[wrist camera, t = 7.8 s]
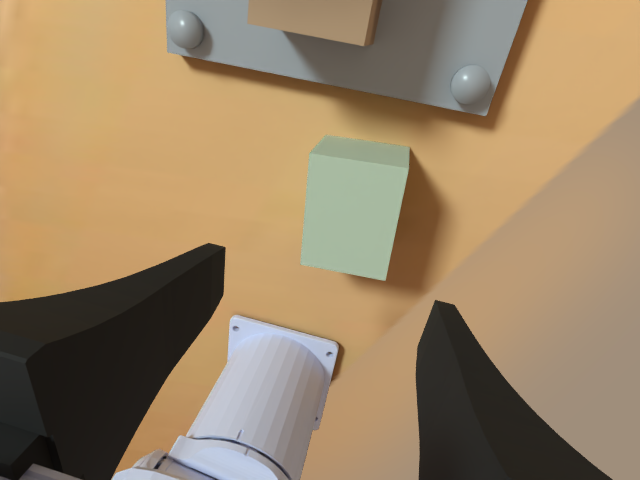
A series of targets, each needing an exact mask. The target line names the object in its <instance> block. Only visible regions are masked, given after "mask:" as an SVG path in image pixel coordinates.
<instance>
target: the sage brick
mask: <svg viewBox="0 0 640 480" xmlns="http://www.w3.org/2000/svg"><path fill="white" fill-rule="evenodd" d="M409 150H410V147H407V146H400V145H393V144H386V143H380V142H373V141H366V140H359V139H352V138H345V137H338V136H331V135H325V136H324V137H323V138H322V140H321V141H320V142H319V143H318V144H317V145H316V146H315V148H314V149H313V150H312V151H311V152H310V153H309V165H308V177H307V189H306V202H305V214H304V226H303V239H302V251H301V263H300V265H306V266H311V267H316V268H321V269H326V270H331V271H336V272H342V273H347V274H352V275H357V276H362V277H367V278H373V279H378V280H383V281H385V280H386V275H387V271H388V266H389V261H390V256H391V252H392V247H393V242H394V237H395V232H396V228H397V223H398V218H399V213H400V209H401V204H402V199H403V194H404V190H405V185H406V180H407V175H408V170H409Z"/></svg>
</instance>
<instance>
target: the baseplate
mask: <svg viewBox="0 0 640 480" xmlns="http://www.w3.org/2000/svg"><path fill="white" fill-rule="evenodd" d="M527 1H528V0H382V5H381V10H380V14H379V19H378V24H377V29H376V34H375V39H374V44H372V45H367V46H360V45H355V44H350V43H345V42H340V41H334V40H329V39H324V38H319V37H314V36H308V35H303V34H298V33H293V32H288V31H282V30H277V29H272V28H267V27H262V26H256V25H251V24H247V19H248V3H249V0H166V25H167V52H168V53H173V54H178V55H183V56H188V57H193V58H198V59H203V60H208V61H213V62H218V63H223V64H228V65H233V66H238V67H243V68H248V69H253V70H258V71H263V72H268V73H273V74H278V75H283V76H288V77H293V78H298V79H303V80H308V81H313V82H318V83H323V84H328V85H333V86H338V87H343V88H348V89H353V90H358V91H363V92H368V93H373V94H378V95H383V96H388V97H393V98H398V99H403V100H408V101H413V102H418V103H423V104H428V105H433V106H438V107H443V108H448V109H453V110H458V111H463V112H467V113H472V114H477V115H482V116H486V115H487V112H488V110H489V107H490V104H491V101H492V98H493V96H494V93H495V90H496V87H497V84H498V82H499V79H500V76H501V73H502V70H503V68H504V65H505V62H506V59H507V57H508V54H509V51H510V48H511V45H512V43H513V40H514V37H515V34H516V31H517V29H518V26H519V23H520V20H521V18H522V15H523V12H524V9H525V6H526V4H527Z"/></svg>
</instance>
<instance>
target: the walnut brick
mask: <svg viewBox="0 0 640 480" xmlns="http://www.w3.org/2000/svg"><path fill="white" fill-rule="evenodd" d="M381 5H382V0H249V3H248V19H247V24H251V25H256V26H262V27H267V28H272V29H277V30H282V31H288V32H293V33H298V34H303V35H308V36H314V37H319V38H324V39H329V40H334V41H340V42H345V43H350V44H355V45H360V46H367V45H372V44H374V39H375V34H376V29H377V24H378V19H379V14H380V10H381Z"/></svg>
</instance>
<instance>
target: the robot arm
mask: <svg viewBox="0 0 640 480" xmlns="http://www.w3.org/2000/svg"><path fill="white" fill-rule="evenodd" d="M224 269H225V247H223V246H219V245H215V244H211V243H208V244H205V245H202V246H200V247H198V248H195V249H193V250H191V251H188V252H186V253H184V254H182V255H179V256H177V257H175V258H173V259H170V260H168V261H166V262H163V263H161V264H159V265H156V266H153V267H151V268H148V269H146V270H143V271H140V272H138V273H135V274H133V275H130V276H127V277H124V278H121V279H118V280H115V281H111V282H108V283H104V284H101V285H97V286H93V287H89V288H85V289H80V290H76V291H71V292H67V293H62V294H57V295H52V296H46V297H40V298H33V299H26V300H19V301H10V302H0V480H111V478H112V476H113V474H114V472H115V470H116V468H117V466H118V464H119V462H120V460H121V458H122V457H123V455H124V453H125V451H126V449H127V447H128V445H129V443H130V442H131V440H132V438H133V436H134V434H135V432H136V430H137V429H138V427H139V425H140V423H141V421H142V420H143V418H144V416H145V414H146V413H147V411H148V409H149V407H150V405H151V404H152V402H153V400H154V399H155V397H156V395H157V394H158V392H159V390H160V389H161V387H162V385H163V384H164V382H165V380H166V379H167V377H168V376H169V374H170V373H171V371H172V370H173V368H174V367H175V366H176V364H177V363H178V362H179V360H180V359H181V358H182V356H183V355H184V354H185V352H186V351H187V350H188V348H189V347H190V346H191V344H192V343H193V342H194V340H195V339H196V338H197V336H198V335H199V333H200V332H201V331H202V329H203V328H204V327H205V325H206V324H207V323H208V321H209V320H210V318H211V317H212V315H213V313H214V311H215V310H216V308H217V306H218V304H219V302H220V300H221V298H222V297H223V292H224ZM235 326H237V327H238V328H237V327H235ZM338 349H339V345H338V344H337V343H336V342H334V341H331V340H328V339H324V338H320V337H317V336H313V335H309V334H306V333H302V332H298V331H295V330H291V329H287V328H284V327H280V326H276V325H273V324H269V323H265V322H262V321H258V320H254V319H251V318H247V317H243V316H239V315H234V316H233V317H232V318H231V320H230V329H229V345H228V362H227V364H226V366H225V368H224V370H223V371H222V373H221V375H220V377H219V378H218V380H217V382H216V384H215V386H214V387H213V389H212V391H211V393H210V394H209V396H208V398H207V400H206V401H205V403H204V405H203V407H202V408H201V410H200V412H199V414H198V415H197V417H196V419H195V421H194V422H193V424H192V426H191V428H190V430H189V431H188V433H187V435H186V437H185V436H182V435H180V436H179V437H178V439H177V440H176V442H175V444H174V445H173V447H172V449H171V451H170V452H169V454H168V453H167V452H165V451H163V450H161V449H157V450H154V451H153V452H152V453H150V454H148V455H146V456H144V457H142V458H140V459H139V460H138V461H137V462H136V463H135V464H134V465H133V467H132V468H130V469H127V470H124V471H121V472H118V473H116V474H115V476H114V477H113V479H112V480H300V478H301V474H302V470H303V466H304V462H305V458H306V454H307V450H308V446H309V442H310V438H311V434H312V430H317V429H319V425H320V422H321V418H322V414H323V409H324V406H325V402H326V397H327V394H328V390H329V386H330V382H331V378H332V374H333V370H334V366H335V362H336V358H337V354H338ZM328 352H331V353H333V354H330V353H328ZM416 389H417V406H418V422H419V438H420V461H419V480H612V479H611V478H610V477H609V476H607V475H606V474H605V473H603V472H602V471H600V470H599V469H598V468H597V467H595V466H594V465H593V464H592V463H591V462H589V461H588V460H587V459H586V458H585V457H583V456H582V455H581V454H580V453H579V452H577V451H576V450H575V449H574V448H573V447H572V446H570V445H569V444H568V443H567V442H566V441H565V440H564V439H563V438H561V437H560V436H559V435H558V434H557V433H556V432H555V431H554V430H553V429H552V428H551V427H550V426H549V425H548V424H547V423H546V422H545V421H544V420H542V419H541V418H540V417H539V416H538V415H537V414H536V413H535V412H534V411H533V410H532V409H531V408H530V407H529V405H528V404H527V403H526V402H525V401H524V400H523V399H522V398H521V397H520V396H519V395H518V393H517V392H516V391H515V390H514V389H513V388H512V387H511V385H510V384H509V383H508V382H507V381H506V379H505V378H504V377H503V376H502V375H501V373H500V372H499V370H498V369H497V368H496V367H495V365H494V364H493V363H492V361H491V360H490V359H489V357H488V356H487V354H486V353H485V352H484V350H483V349H482V348H481V346H480V344H479V343H478V341H477V340H476V339H475V337H474V335H473V334H472V332H471V331H470V329H469V327H468V326H467V324H466V323H465V321H464V319H463V318H462V316H461V315H460V313H459V311H458V310H457V308H456V307H455V305H453V304H449V303H445V302H441V301H437V300H435V302H434V305H433V307H432V310H431V313H430V315H429V318H428V321H427V323H426V326H425V328H424V331H423V334H422V336H421V339H420V342H419V344H418V349H417V361H416Z"/></svg>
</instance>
